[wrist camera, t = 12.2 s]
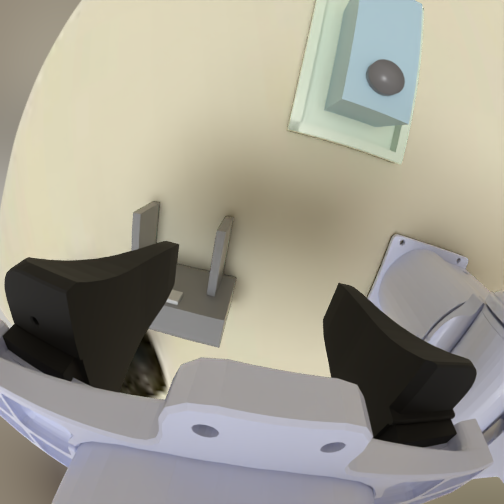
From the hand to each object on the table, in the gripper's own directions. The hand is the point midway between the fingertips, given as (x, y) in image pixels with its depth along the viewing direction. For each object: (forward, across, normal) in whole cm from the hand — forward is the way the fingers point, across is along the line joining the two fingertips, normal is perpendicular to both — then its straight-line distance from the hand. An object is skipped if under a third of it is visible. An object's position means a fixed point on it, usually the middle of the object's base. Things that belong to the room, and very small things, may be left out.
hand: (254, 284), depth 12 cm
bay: (+10, +6, +4) cm, 12 cm away
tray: (+10, -4, -14) cm, 18 cm away
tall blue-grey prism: (+9, -4, -14) cm, 17 cm away
